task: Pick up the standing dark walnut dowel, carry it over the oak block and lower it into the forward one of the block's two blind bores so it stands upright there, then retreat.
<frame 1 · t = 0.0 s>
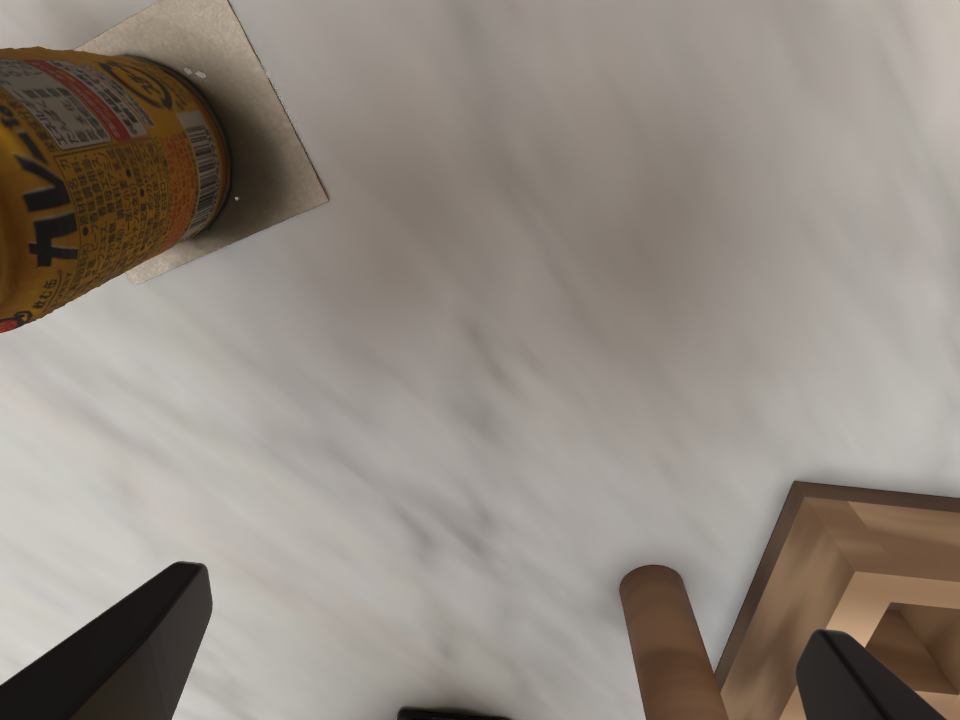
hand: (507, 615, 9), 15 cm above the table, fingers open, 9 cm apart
dowel: (651, 588, 28), on the table
condiment: (174, 145, 21), on the table
bore block: (829, 607, 28), on the table
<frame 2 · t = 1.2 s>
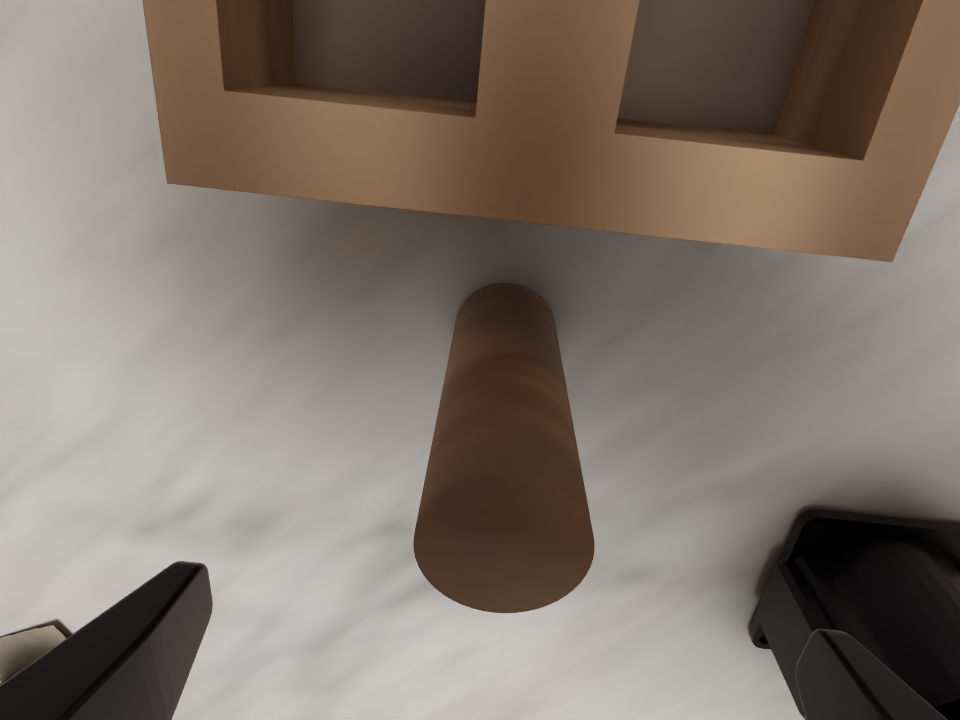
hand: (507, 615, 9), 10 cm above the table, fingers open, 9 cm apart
dowel: (504, 330, 18), on the table
condiment: (61, 694, 27), on the table
bore block: (547, 3, 14), on the table
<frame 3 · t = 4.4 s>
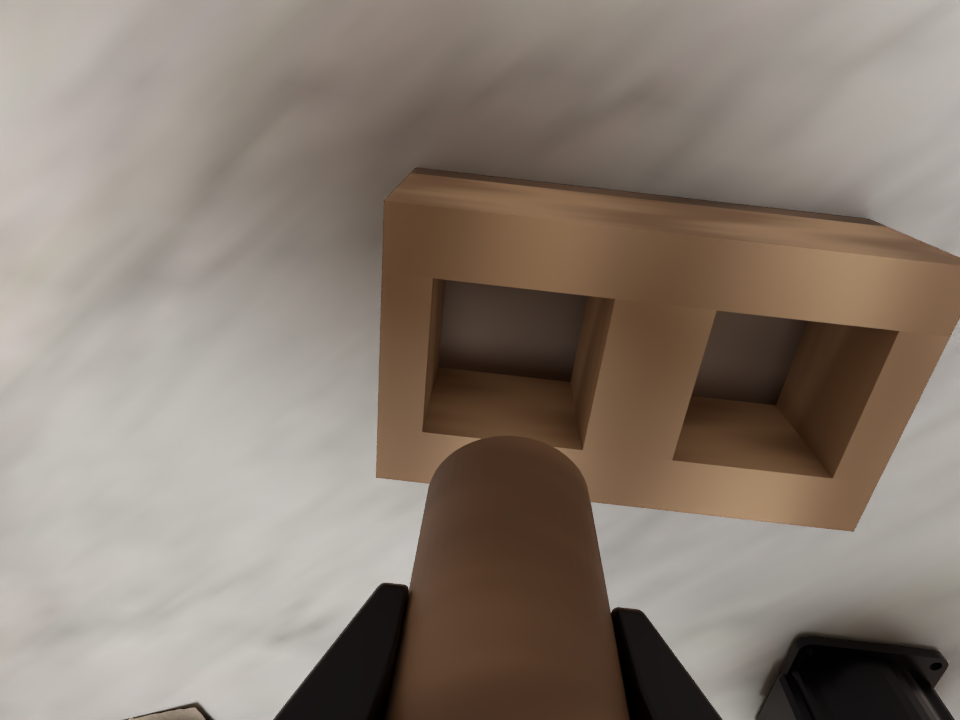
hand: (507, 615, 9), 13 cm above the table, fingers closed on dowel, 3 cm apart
dowel: (507, 503, 11), point 10 cm above the table, touching gripper
bore block: (616, 313, 20), on the table
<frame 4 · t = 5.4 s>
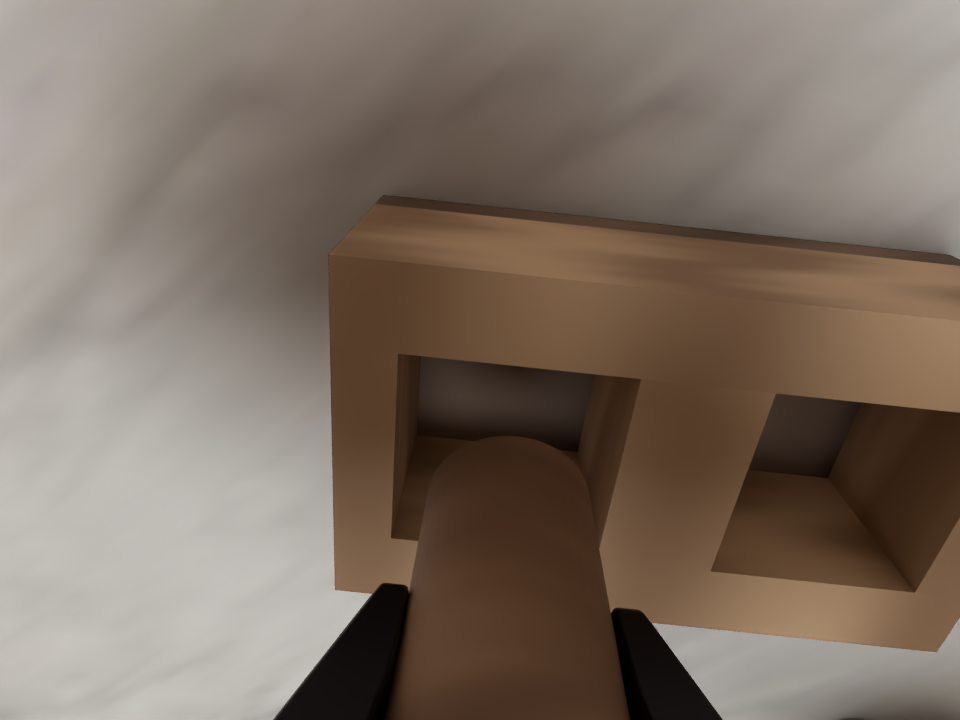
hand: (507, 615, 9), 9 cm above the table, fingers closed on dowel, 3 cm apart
dowel: (508, 503, 11), point 6 cm above the table, touching gripper
bore block: (632, 368, 16), on the table
when the fingers open (6 cm above the table, at t = 6.1 s): dowel drops 2 cm, resting on bore block.
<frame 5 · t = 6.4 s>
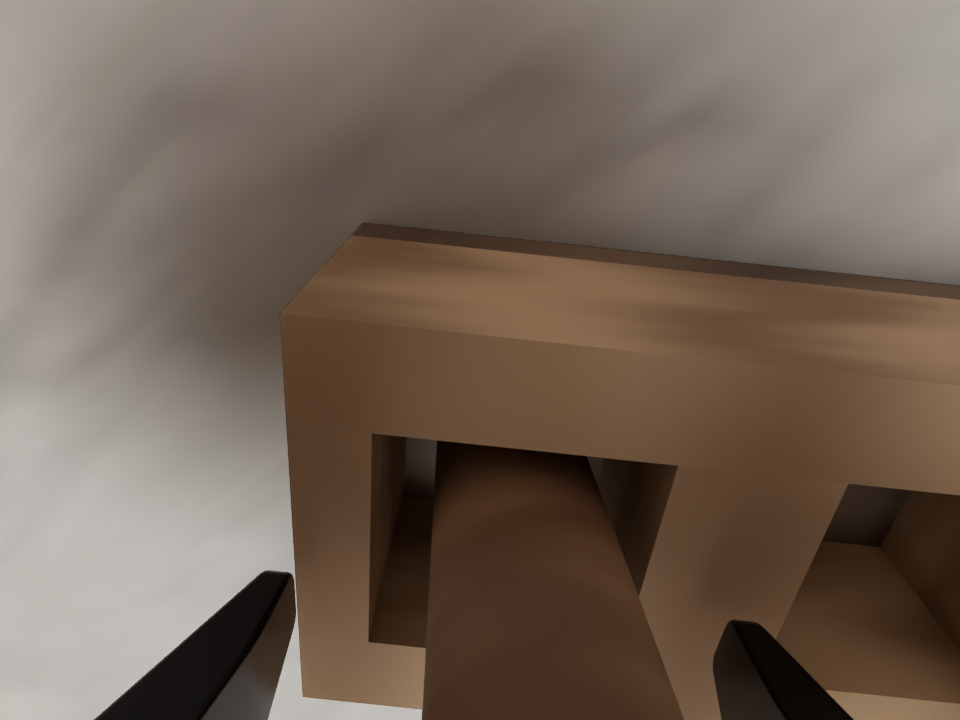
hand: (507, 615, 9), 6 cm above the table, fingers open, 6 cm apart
dowel: (505, 433, 13), point 1 cm above the table, tilted 6°, touching bore block
bore block: (654, 420, 14), on the table
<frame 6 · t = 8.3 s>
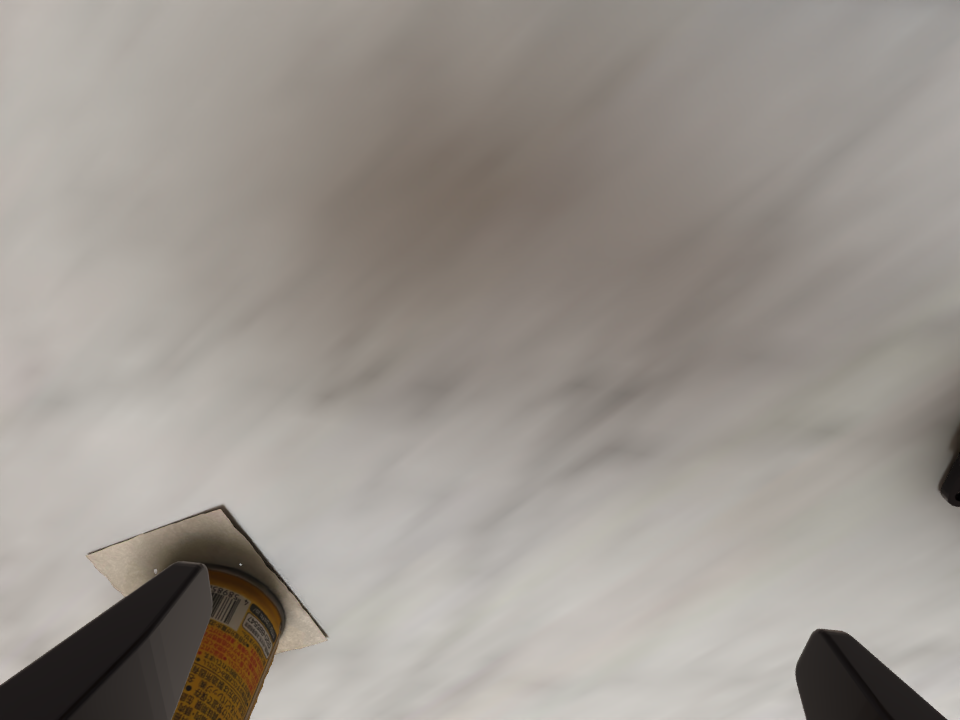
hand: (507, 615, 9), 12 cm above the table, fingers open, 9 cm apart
condiment: (214, 592, 27), on the table
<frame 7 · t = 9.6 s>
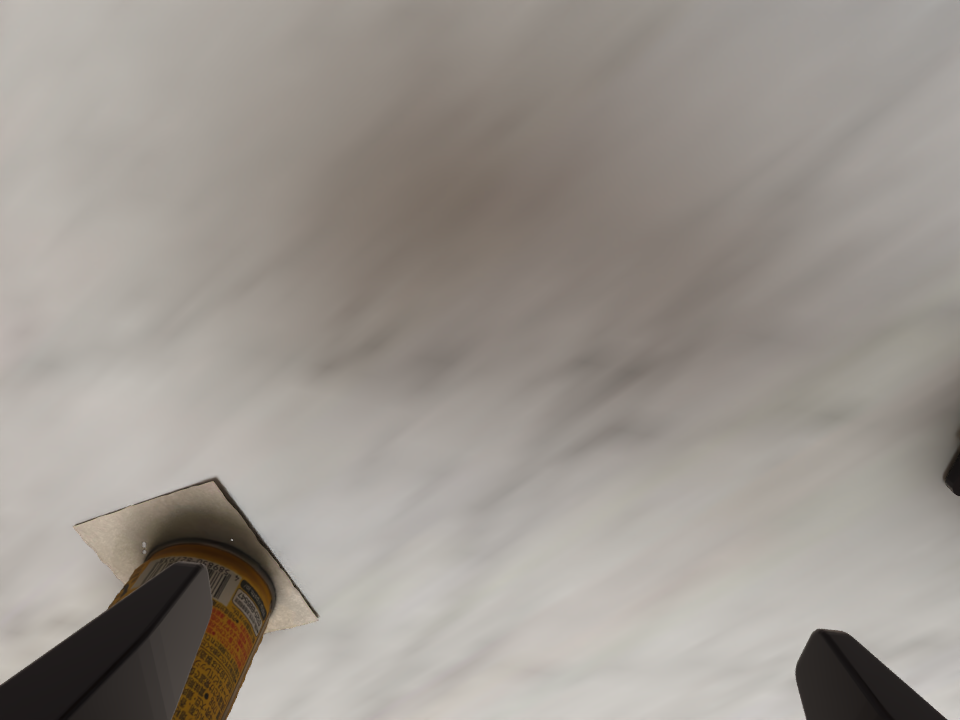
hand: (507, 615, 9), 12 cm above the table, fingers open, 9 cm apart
condiment: (204, 568, 27), on the table
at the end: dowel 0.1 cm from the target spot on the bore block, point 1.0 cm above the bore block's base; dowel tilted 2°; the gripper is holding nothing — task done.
